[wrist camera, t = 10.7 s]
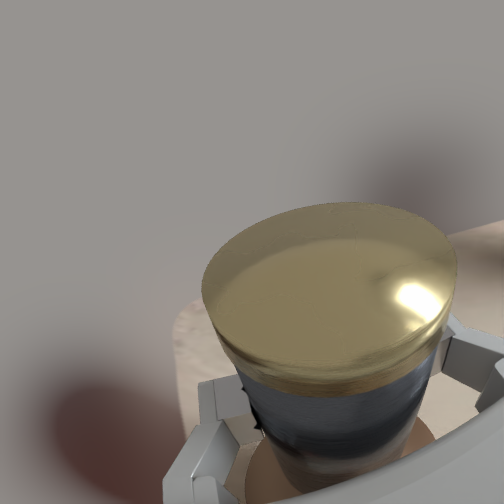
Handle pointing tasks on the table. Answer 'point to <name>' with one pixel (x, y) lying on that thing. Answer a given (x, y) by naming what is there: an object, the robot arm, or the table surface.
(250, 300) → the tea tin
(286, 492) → the brown wooden cylinder
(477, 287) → the table surface
